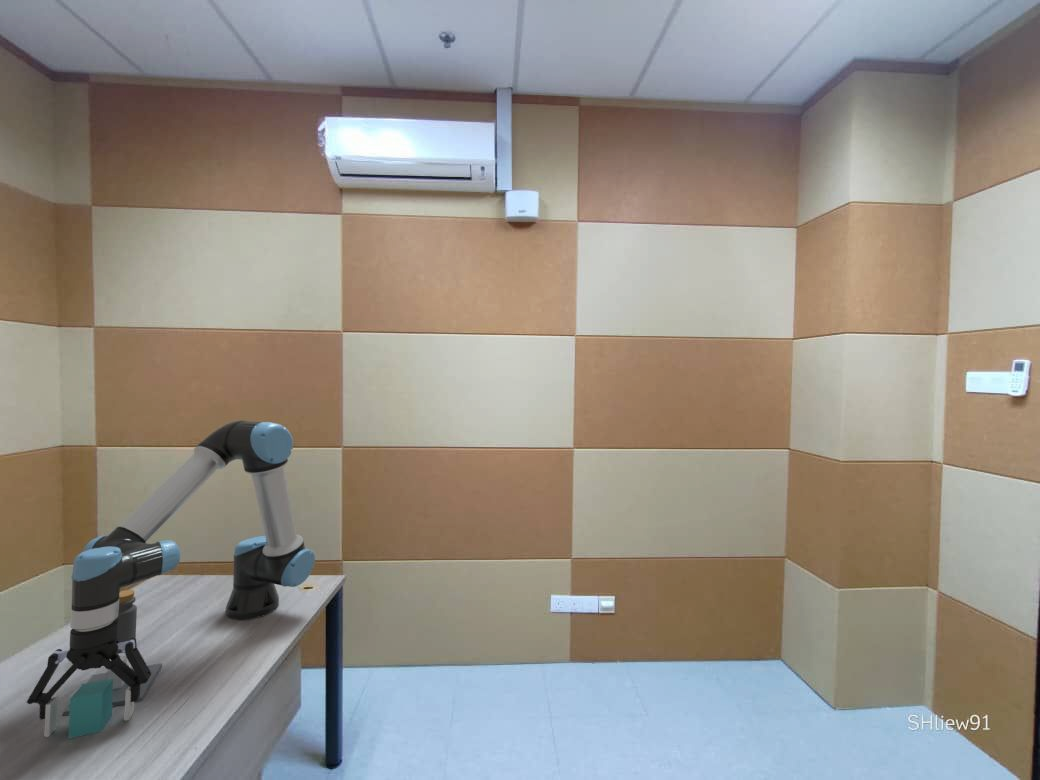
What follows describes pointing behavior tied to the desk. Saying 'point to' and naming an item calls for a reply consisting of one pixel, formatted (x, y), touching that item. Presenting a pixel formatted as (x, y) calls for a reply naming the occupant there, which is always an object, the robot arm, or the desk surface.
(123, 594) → the bottle
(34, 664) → the desk surface
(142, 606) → the desk surface
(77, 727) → the teal rectangular block
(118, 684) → the stand
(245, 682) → the desk surface
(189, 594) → the desk surface
